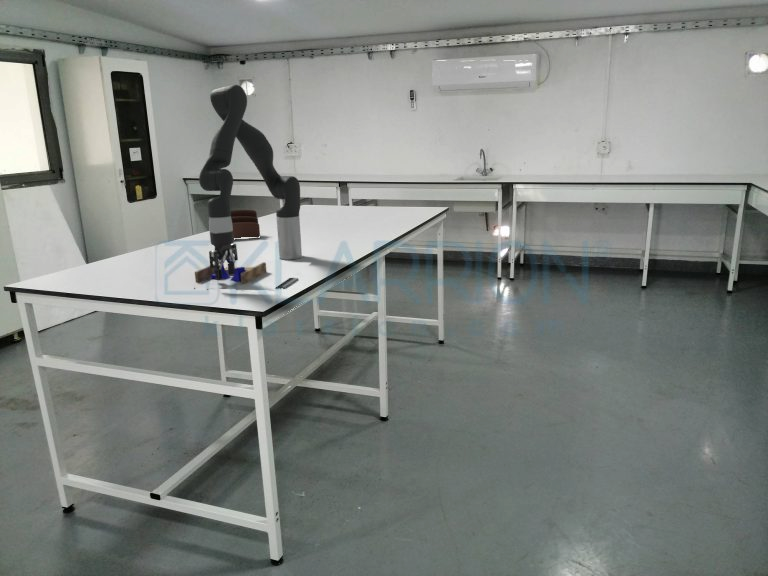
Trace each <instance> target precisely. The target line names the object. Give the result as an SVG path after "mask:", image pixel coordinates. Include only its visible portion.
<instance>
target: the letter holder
mask: <svg viewBox="0 0 768 576" xmlns="http://www.w3.org/2000/svg"><path fill="white" fill-rule="evenodd" d="M230 213H231V220H232V226H233V237H234V238H241V237H259V236H260V237H261V231H260V224H259V218H258V214H257V211H256V210H254V209H230Z"/></svg>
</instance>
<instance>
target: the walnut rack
mask: <svg viewBox="0 0 768 576" xmlns="http://www.w3.org/2000/svg"><path fill="white" fill-rule="evenodd" d="M218 264H219V263H218ZM213 265H214V263H213ZM252 267H253V268H251V269H249V270H247V271H245V272H243V273H241V281H240V282H241V283H240V284H241V285H246V284H247V283H249V282H252V281H253V280H255V279H257V278H259V277H261V276H263V275H264V274H266V273H267V272H268V271H267V263H266V262H261V263H259V264H258V265H255V266H252ZM213 274H215V272H214V269H211V268H210V265H208V266H206V267H203V268H200V269H198V270H196V271H194V277H195V283H200V282H202V281H205V280H207V279H209V278H212V277H211V275H213Z"/></svg>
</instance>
